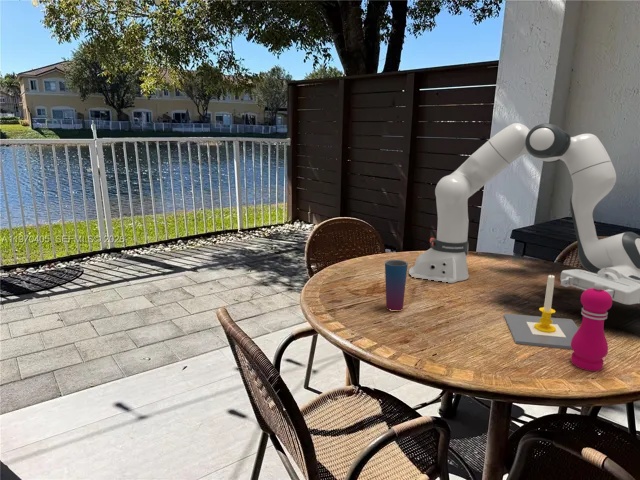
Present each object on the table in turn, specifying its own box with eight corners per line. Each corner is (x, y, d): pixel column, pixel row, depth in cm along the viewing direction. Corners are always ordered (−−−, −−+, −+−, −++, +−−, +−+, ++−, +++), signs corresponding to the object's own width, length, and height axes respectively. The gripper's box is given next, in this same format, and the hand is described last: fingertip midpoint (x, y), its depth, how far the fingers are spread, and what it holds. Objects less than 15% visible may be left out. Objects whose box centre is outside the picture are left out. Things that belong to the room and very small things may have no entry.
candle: (551, 334, 111) (559, 278, 108) (531, 328, 115) (537, 273, 111) (558, 328, 115) (565, 274, 111) (538, 322, 118) (544, 269, 115)
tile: (515, 343, 108) (516, 340, 108) (503, 316, 125) (504, 313, 125) (594, 351, 104) (595, 348, 104) (571, 321, 121) (571, 318, 121)
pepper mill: (561, 357, 101) (572, 278, 97) (590, 355, 102) (602, 277, 97) (582, 373, 94) (595, 288, 90) (612, 371, 95) (627, 287, 90)
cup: (405, 314, 127) (407, 266, 124) (382, 312, 128) (384, 265, 125) (405, 305, 134) (407, 260, 130) (384, 304, 135) (385, 259, 131)
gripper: (581, 262, 129) (547, 267, 124) (653, 282, 110) (616, 289, 106) (578, 282, 130) (545, 287, 126) (648, 305, 112) (612, 313, 107)
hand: (578, 288), depth 116 cm, fingers open, 8 cm apart
